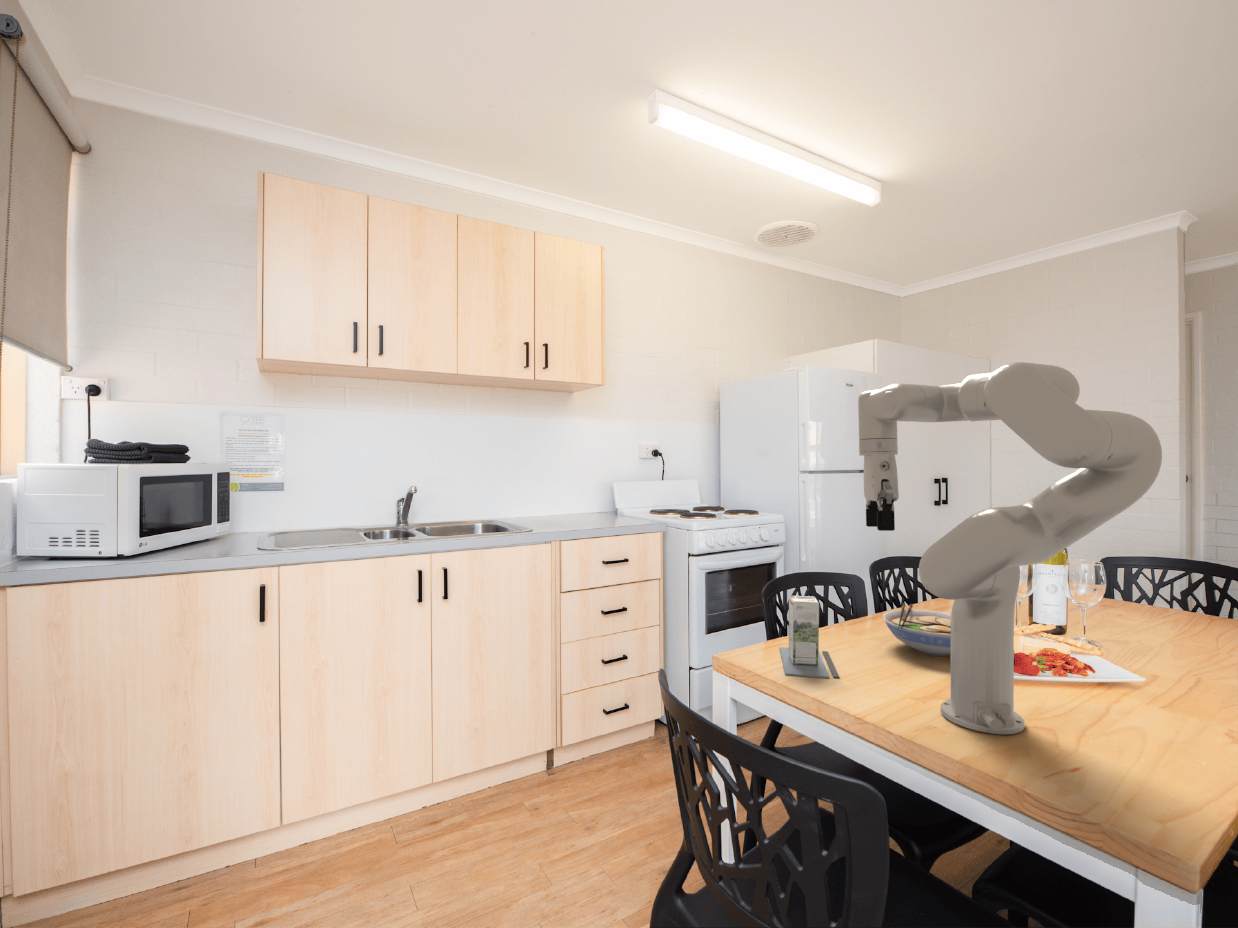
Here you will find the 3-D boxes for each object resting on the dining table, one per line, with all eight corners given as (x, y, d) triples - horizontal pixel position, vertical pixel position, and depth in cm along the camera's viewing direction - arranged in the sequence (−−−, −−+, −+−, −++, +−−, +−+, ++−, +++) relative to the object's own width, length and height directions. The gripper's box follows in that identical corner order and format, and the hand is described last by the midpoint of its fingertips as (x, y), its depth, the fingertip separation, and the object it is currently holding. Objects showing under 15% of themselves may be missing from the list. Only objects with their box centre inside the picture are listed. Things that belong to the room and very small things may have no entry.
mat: (829, 678, 122) (829, 676, 122) (785, 674, 124) (785, 673, 124) (818, 651, 140) (818, 649, 140) (779, 648, 142) (779, 647, 142)
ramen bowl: (991, 676, 123) (991, 638, 123) (875, 657, 135) (875, 622, 135) (988, 645, 145) (988, 612, 145) (888, 631, 157) (888, 601, 157)
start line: (839, 678, 122) (839, 676, 122) (833, 677, 122) (833, 676, 122) (827, 652, 139) (827, 651, 139) (822, 652, 139) (822, 650, 139)
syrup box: (813, 657, 134) (813, 595, 134) (819, 666, 128) (819, 601, 128) (788, 656, 135) (788, 594, 135) (792, 665, 129) (792, 600, 129)
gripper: (909, 445, 114) (911, 532, 114) (885, 449, 131) (887, 525, 131) (869, 446, 116) (871, 532, 115) (851, 450, 133) (852, 525, 132)
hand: (879, 528), depth 123 cm, fingers open, 9 cm apart
